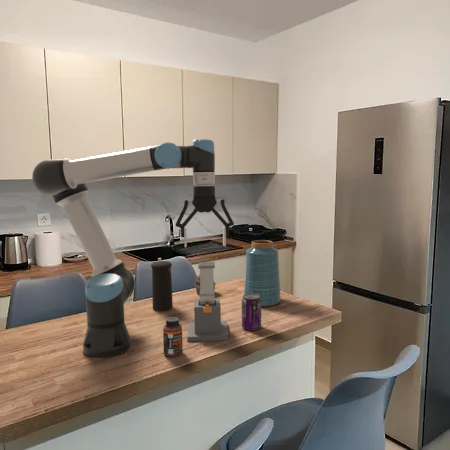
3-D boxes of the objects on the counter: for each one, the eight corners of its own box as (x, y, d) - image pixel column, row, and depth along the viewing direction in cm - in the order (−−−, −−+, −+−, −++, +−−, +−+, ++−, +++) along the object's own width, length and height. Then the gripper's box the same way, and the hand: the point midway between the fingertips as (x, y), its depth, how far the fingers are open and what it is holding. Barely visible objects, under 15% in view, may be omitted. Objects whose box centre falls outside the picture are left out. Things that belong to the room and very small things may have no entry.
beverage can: (260, 332, 144) (259, 299, 143) (240, 330, 146) (240, 298, 144) (262, 324, 151) (262, 293, 150) (243, 323, 152) (243, 292, 151)
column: (199, 330, 141) (198, 265, 138) (200, 324, 147) (198, 262, 144) (215, 330, 141) (214, 265, 138) (215, 324, 147) (214, 261, 144)
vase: (283, 307, 170) (283, 244, 166) (244, 308, 170) (243, 245, 167) (278, 295, 186) (278, 238, 183) (243, 296, 186) (242, 238, 183)
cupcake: (193, 296, 187) (192, 275, 186) (197, 290, 196) (197, 270, 195) (213, 297, 185) (213, 276, 184) (217, 291, 195) (217, 270, 194)
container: (177, 306, 173) (176, 260, 170) (163, 313, 165) (161, 265, 163) (162, 303, 177) (160, 258, 175) (147, 309, 170) (145, 262, 167)
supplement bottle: (174, 359, 124) (173, 323, 122) (159, 355, 127) (158, 320, 126) (186, 352, 129) (185, 317, 127) (171, 347, 132) (170, 314, 131)
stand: (187, 341, 137) (186, 307, 136) (189, 325, 151) (188, 294, 149) (228, 340, 138) (228, 306, 136) (226, 324, 152) (226, 293, 150)
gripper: (167, 186, 135) (168, 249, 137) (241, 185, 137) (241, 247, 140) (168, 185, 142) (169, 245, 145) (238, 184, 144) (239, 243, 147)
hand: (205, 246), depth 142 cm, fingers open, 13 cm apart
